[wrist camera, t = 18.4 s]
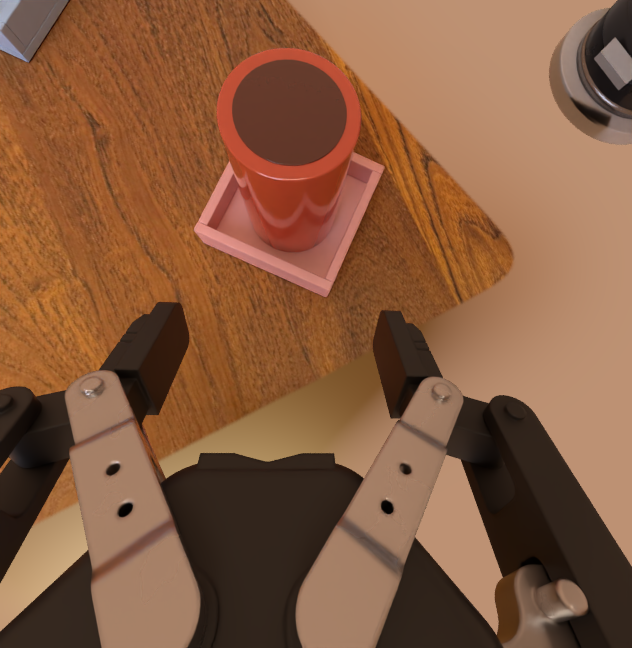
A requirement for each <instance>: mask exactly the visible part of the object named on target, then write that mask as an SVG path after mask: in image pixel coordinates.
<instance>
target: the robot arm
mask: <svg viewBox="0 0 632 648" xmlns="http://www.w3.org/2000/svg"><path fill="white" fill-rule="evenodd" d="M576 64H577V71H578V75H579V78H580V80H581V83H582V85H583V87H584V89H585V90H586V92H587V93H588V94H589V96H590V97H591V98H592V99H593V100H594V101H595V102H596V103H597V104H598V105H599V106H601V107H602V108H603V109H605V110H606V111H608V112H610V113H612V114H614V115H616V116H619V117H622V118H626V119H632V0H618V1H616V3H615V4H614V5H613V6H612V7H611V8H610V9H609V10H608V11H607V12H606V14H605V15H604V16H603V17H602V18H601V19H600V20H598V21H597V22H596V23H595V24H594V25H593V26H592V27H591V28H590V29H589V31H588V32H587V33H586V34H585V35H584V37H583V38H582V40H581V42H580V44H579V47H578V50H577V57H576ZM188 344H189V331H188V328H187V324H186V320H185V316H184V312H183V308H182V305H181V304H180V303H176V302H158V303H157V304H156V306H155V307H154V309H153V310H152V312H151V313H150V314H144V315H142V316H141V317H140V318H138V319H137V320H135V321H134V322H133V323H132V324H131V325H130V327H129V328H128V330H127V331H126V334H124V335H123V337H122V338H121V340H120V342H118V344H117V345H116V347H115V348H114V349H113V351H112V352H111V354H110V355H109V356H108V358H107V359H106V361H105V362H104V364H103V365H102V366H101V368H100V369H99V371H94V372H90V373H87V374H85V375H83V376H81V377H79V378H78V379H76V380H75V381H74V382H72V383H71V384H70V385H69V387H68V388H67V390H65V391H60V392H55V393H51V394H46V395H41V396H37V397H36V396H35V395H34V394H33V392H32V391H31V390H30V389H28V388H26V387H10V388H6V389H2V390H0V468H1V466H2V465H3V464H4V462H5V461H6V459H7V458H8V457H9V458H10V459H11V460H10V461H9V463H8V464H7V465H6V467H5V468H4V470H3V471H2V473H1V474H0V583H1V581H2V579H3V577H4V576H5V574H6V572H7V570H8V568H9V567H10V565H11V563H12V561H13V559H14V558H15V556H16V554H17V552H18V550H19V549H20V547H21V545H22V543H23V541H24V540H25V538H26V536H27V534H28V532H29V531H30V529H31V527H32V525H33V523H34V522H35V520H36V518H37V516H38V514H39V513H40V511H41V509H42V507H43V505H44V504H45V502H46V500H47V498H48V496H49V495H50V493H51V491H52V489H53V487H54V486H55V484H56V482H57V480H58V478H59V477H60V475H61V473H62V471H63V469H64V468H65V466H66V464H67V462H68V460H69V459H70V460H71V465H72V470H73V475H74V480H75V485H76V490H77V495H78V500H79V505H80V510H81V515H82V520H83V524H84V530H85V535H86V540H87V545H88V551H87V552H86V553H84V555H82V556H81V557H80V558H79V559H78V560H77V561H76V562H75V563H74V564H73V565H72V566H70V567H69V568H68V569H67V570H66V571H65V572H64V573H63V574H62V575H61V576H60V577H59V578H58V579H56V580H55V581H54V582H53V583H52V584H51V585H50V586H49V587H48V588H47V589H46V590H45V591H43V592H42V593H41V594H40V595H39V596H38V597H37V598H36V599H35V600H34V601H33V602H32V603H31V604H30V605H28V606H27V607H26V608H25V609H24V610H23V611H22V612H21V613H20V614H19V615H18V616H17V617H16V618H15V619H13V620H12V621H11V622H10V623H9V624H8V625H7V626H6V627H5V628H4V629H3V630H2V631H0V648H632V566H631V565H630V563H629V562H628V560H627V558H626V557H625V555H624V554H623V552H622V551H621V549H620V548H619V546H618V544H617V543H616V541H615V540H614V538H613V537H612V535H611V533H610V532H609V530H608V528H607V527H606V525H605V524H604V522H603V521H602V519H601V517H600V516H599V514H598V513H597V511H596V509H595V508H594V507H593V505H592V503H591V502H590V500H589V498H588V497H587V495H586V494H585V492H584V491H583V489H582V488H581V486H580V484H579V483H578V481H577V479H576V478H575V476H574V475H573V473H572V472H571V470H570V469H569V467H568V465H567V464H566V462H565V461H564V459H563V457H562V456H561V454H560V453H559V451H558V449H557V448H556V446H555V445H554V443H553V442H552V440H551V438H550V437H549V435H548V434H547V432H546V431H545V429H544V427H543V426H542V424H541V423H540V421H539V420H538V418H537V416H536V415H535V413H534V412H533V411H532V410H531V409H530V408H529V407H528V406H527V405H526V404H524V403H523V402H521V401H520V400H518V399H516V398H513V397H510V396H504V395H499V396H496V397H494V398H493V399H492V400H491V401H490V403H486V402H482V401H478V400H475V399H471V398H468V397H465V396H463V395H462V393H461V391H460V390H459V389H458V388H457V387H456V386H455V385H454V384H453V383H451V382H450V381H448V380H446V379H443V377H442V375H441V373H440V371H439V368H438V366H437V364H436V362H435V360H434V358H433V356H432V354H431V351H429V347H428V345H427V343H426V341H425V339H424V337H423V335H422V333H421V331H420V330H419V329H418V328H417V327H416V326H415V325H414V324H412V323H406V322H405V320H404V317H403V315H402V313H401V311H388V310H382V311H381V312H380V315H379V319H378V323H377V327H376V331H375V335H374V340H373V352H374V356H375V360H376V363H377V368H378V371H379V375H380V379H381V383H382V387H383V390H384V394H385V398H386V402H387V406H388V409H389V413H390V417H391V418H401V419H400V420H398V421H397V422H396V424H395V426H394V427H393V429H392V431H391V433H390V435H389V436H388V438H387V440H386V442H385V443H384V445H383V447H382V449H381V450H380V452H379V454H378V455H377V457H376V459H375V461H374V463H373V464H372V466H371V467H370V469H369V471H368V473H367V474H366V476H365V478H363V477H361V476H360V475H359V474H357V473H356V472H354V471H352V470H351V469H349V468H347V467H344V466H342V465H339V464H335V458H334V453H332V454H331V453H322V454H321V453H312V454H311V453H303V454H298V455H294V456H290V457H286V458H282V459H279V460H274V461H270V462H265V461H261V460H257V459H253V458H250V457H246V456H242V455H239V454H235V453H201V454H200V457H199V461H198V464H195V465H192V466H190V467H187V468H184V469H182V470H180V471H178V472H176V473H174V474H173V475H171V476H169V477H168V478H167V479H166V478H165V476H164V474H163V472H162V469H161V467H160V465H159V463H158V460H157V458H156V455H155V453H154V451H153V448H152V446H151V443H150V441H149V439H148V436H147V434H146V431H145V429H144V427H143V425H142V422H143V420H144V418H145V416H146V415H159V412H160V410H161V408H162V405H163V403H164V401H165V398H166V396H167V394H168V392H169V389H170V387H171V385H172V382H173V380H174V378H175V376H176V373H177V371H178V369H179V366H180V364H181V362H182V359H183V357H184V355H185V353H186V350H187V348H188ZM446 455H449V456H452V457H455V458H459V459H461V462H462V464H463V467H464V470H465V473H466V476H467V478H468V481H469V484H470V487H471V489H472V492H473V495H474V498H475V501H476V504H477V506H478V509H479V512H480V515H481V517H482V520H483V523H484V526H485V528H486V532H487V534H488V537H489V540H490V543H491V545H492V548H493V551H494V554H495V557H496V560H497V562H498V565H499V568H500V571H501V573H502V576H503V578H502V579H501V580H500V581H499V582H498V584H497V586H496V589H495V603H496V608H497V613H498V620H499V625H498V632H497V635H496V634H495V632H494V631H493V629H492V628H491V627H490V625H489V624H488V623H487V621H486V620H485V619H484V618H483V617H482V615H481V614H480V613H479V612H478V611H477V609H476V608H475V607H474V606H473V605H472V604H471V602H470V601H469V600H468V599H467V598H466V597H465V595H464V594H463V593H462V592H461V591H460V589H459V588H458V587H457V586H456V585H455V584H454V583H453V581H452V580H451V579H450V578H449V577H448V575H447V574H446V573H445V572H444V571H443V570H442V568H441V567H440V566H439V565H438V564H437V563H436V561H435V560H434V559H433V558H432V557H431V556H430V554H429V553H428V552H427V551H426V550H425V548H424V547H423V546H422V545H421V544H420V542H419V541H418V540H417V539H416V538H415V535H416V532H417V530H418V527H419V524H420V521H421V519H422V517H423V514H424V511H425V509H426V506H427V503H428V501H429V498H430V495H431V493H432V490H433V488H434V485H435V482H436V479H437V477H438V474H439V472H440V469H441V466H442V464H443V461H444V459H445V456H446Z"/></svg>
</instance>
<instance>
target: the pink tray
mask: <svg viewBox="0 0 632 648" xmlns="http://www.w3.org/2000/svg"><path fill="white" fill-rule="evenodd" d="M384 168H385V167H384V166H383V165H380V164H378V163H376V162H374V161H372V160H370V159H367V158H365V157H363V156H361V155H359V154H357V153H354V155H353V158H352V162H351V165H350V169H349V172H348V176H347V179H346V183H345V186H344V190H343V193H342V196H341V200H340V203H339V207H338V210H337V214H336V217H335V221H334V224H333V227H332V229H331V231H330V233H329V234H328V236H327V237H326V238H325V239H324V240H323V241H322V242H321V243H320V244H318V245H317V246H315V247H313V248H311V249H309V250H306V251H302V252H284V251H280V250H277V249H274V248H272V247H271V246H269V245H267V244H266V243H264V242H263V241H262V240H261V239H260V238H259V237H258V235H257V234H256V233H255V231H254V229H253V227H252V225H251V223H250V220H249V217H248V214H247V211H246V208H245V205H244V202H243V199H242V196H241V193H240V190H239V187H238V184H237V181H236V178H235V175H234V172H233V169H232V166H231V164H230V161H229V163H228V165H227V167H226V169H225V171H224V172H223V174H222V176H221V178H220V180H219V182H218V184H217V186H216V188H215V190H214V192H213V194H212V196H211V198H210V199H209V201H208V203H207V205H206V207H205V209H204V211H203V213H202V215H201V217H200V219H199V222H197V224H196V226H195V228H194V231H195V233H196V234H197V235H198V236H199V237H200V239H201V240H202V241H203V242H204V243H205V244H208V245H210V246H212V247H214V248H216V249H219V250H221V251H223V252H225V253H228V254H230V255H232V256H234V257H237V258H239V259H241V260H243V261H245V262H248V263H250V264H252V265H254V266H257V267H259V268H261V269H263V270H266V271H268V272H270V273H272V274H275V275H277V276H279V277H281V278H283V279H286V280H288V281H290V282H292V283H295V284H297V285H299V286H301V287H304V288H306V289H308V290H310V291H313V292H315V293H317V294H319V295H321V296H324V297H327V296H328V294H329V292H330V290H331V288H332V285H333V283H334V281H335V279H336V276H337V274H338V272H339V270H340V267H341V265H342V263H343V261H344V258H345V256H346V254H347V252H348V249H349V247H350V245H351V243H352V240H353V238H354V236H355V233H356V231H357V229H358V227H359V224H360V222H361V220H362V218H363V215H364V213H365V211H366V209H367V206H368V204H369V202H370V200H371V197H372V195H373V193H374V191H375V188H376V186H377V184H378V182H379V179H380V177H381V175H382V173H383V170H384Z"/></svg>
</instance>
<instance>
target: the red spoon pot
mask: <svg viewBox="0 0 632 648" xmlns="http://www.w3.org/2000/svg"><path fill="white" fill-rule="evenodd" d="M217 122H218V127H219V131H220V134H221V137H222V140H223V143H224V146H225V149H226V152H227V155H228V158H229V161H230V164H231V166H232V169H233V172H234V175H235V178H236V181H237V184H238V187H239V190H240V193H241V196H242V199H243V202H244V205H245V208H246V211H247V214H248V217H249V220H250V223H251V225H252V227H253V229H254V231H255V233H256V234H257V235H258V237H259V238H260V239H261V240H262V241H263V242H264V243H266V244H267V245H269V246H271V247H272V248H274V249H277V250H280V251H284V252H302V251H306V250H309V249H311V248H313V247H315V246H317V245H318V244H320V243H321V242H322V241H323V240H324V239H325V238H326V237H327V236H328V234H329V233H330V231H331V229H332V227H333V224H334V221H335V217H336V214H337V210H338V207H339V203H340V200H341V196H342V193H343V190H344V186H345V183H346V179H347V176H348V172H349V169H350V165H351V162H352V158H353V155H354V152H355V148H356V145H357V141H358V138H359V134H360V129H361V108H360V103H359V100H358V97H357V94H356V92H355V90H354V88H353V86H352V84H351V82H350V81H349V80H348V78H347V77H346V76H345V75H344V73H343V72H342V71H341V70H340V69H339V68H338V67H336V66H335V65H334V64H333V63H331V62H330V61H328V60H327V59H325V58H323V57H321V56H319V55H317V54H315V53H312V52H309V51H305V50H302V49H295V48H276V49H270V50H265V51H262V52H259V53H256V54H254V55H252V56H250V57H248V58H247V59H245V60H244V61H242V62H241V63H240V64H239V65H238V66H236V67H235V68H234V69H233V71H232V72H231V73H230V74H229V75H228V77H227V78H226V80H225V82H224V83H223V86H222V88H221V90H220V94H219V97H218V102H217Z"/></svg>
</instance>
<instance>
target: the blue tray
mask: <svg viewBox="0 0 632 648" xmlns="http://www.w3.org/2000/svg"><path fill="white" fill-rule="evenodd" d="M68 1H69V0H0V50H2V51H4V52H7V53H9V54H11V55H13V56H15V57H18V58H20V59H22V60H24V61H26V62H29V61H30V60H31V58H32V57H33V55H34V54H35V52H36V50H37V49H38V47H39V46H40V44H41V43H42V41H43V40H44V38H45V36H46V35H47V33H48V32H49V30H50V29H51V27H52V26H53V24H54V23H55V21H56V19H57V18H58V16H59V15H60V13H61V12H62V10H63V9H64V7H65V6H66V4H67V2H68Z"/></svg>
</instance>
